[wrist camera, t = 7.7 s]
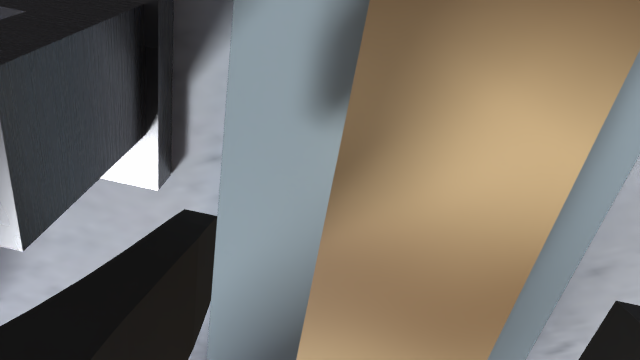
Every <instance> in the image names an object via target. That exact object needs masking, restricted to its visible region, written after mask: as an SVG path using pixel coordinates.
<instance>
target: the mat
mask: <svg viewBox="0 0 640 360" xmlns="http://www.w3.org/2000/svg"><path fill="white" fill-rule="evenodd" d="M369 2H370V0H234V3H233V17H232V30H231V43H230V56H229V70H228V83H227V96H226V110H225V123H224V136H223V149H222V163H221V176H220V189H219V202H218V216H217V229H216V242H215V256H214V269H213V282H212V295H211V309H210V322H209V335H208V348H207V360H296V358H297V353H298V349H299V344H300V339H301V334H302V329H303V324H304V319H305V314H306V309H307V305H308V300H309V295H310V290H311V285H312V280H313V275H314V270H315V265H316V261H317V256H318V251H319V246H320V241H321V236H322V231H323V226H324V221H325V217H326V212H327V207H328V202H329V197H330V192H331V187H332V182H333V177H334V173H335V168H336V163H337V158H338V153H339V148H340V143H341V138H342V134H343V129H344V124H345V119H346V114H347V109H348V104H349V99H350V94H351V90H352V85H353V80H354V75H355V70H356V65H357V60H358V55H359V50H360V46H361V41H362V36H363V31H364V26H365V21H366V16H367V11H368V6H369ZM639 155H640V51H639V53H638V55H637V57H636V59H635V61H634V63H633V65H632V67H631V69H630V71H629V73H628V75H627V77H626V79H625V81H624V83H623V85H622V87H621V89H620V91H619V93H618V95H617V97H616V99H615V101H614V103H613V105H612V107H611V110H610V112H609V114H608V116H607V118H606V120H605V122H604V124H603V126H602V128H601V130H600V132H599V134H598V136H597V138H596V140H595V142H594V144H593V146H592V148H591V150H590V152H589V154H588V156H587V158H586V160H585V162H584V164H583V166H582V168H581V170H580V172H579V175H578V177H577V179H576V181H575V183H574V185H573V187H572V189H571V191H570V193H569V195H568V197H567V199H566V201H565V203H564V205H563V207H562V209H561V211H560V213H559V215H558V217H557V219H556V221H555V223H554V225H553V227H552V229H551V231H550V233H549V235H548V237H547V239H546V242H545V244H544V246H543V248H542V250H541V252H540V254H539V256H538V258H537V260H536V262H535V264H534V266H533V268H532V270H531V272H530V274H529V276H528V278H527V280H526V282H525V284H524V286H523V288H522V290H521V292H520V294H519V296H518V298H517V300H516V302H515V304H514V307H513V309H512V311H511V313H510V315H509V317H508V319H507V321H506V323H505V325H504V327H503V329H502V331H501V333H500V335H499V337H498V339H497V341H496V343H495V345H494V347H493V349H492V351H491V353H490V355H489V357H488V359H487V360H526V358H527V356H528V354H529V353H530V351H531V349H532V347H533V345H534V344H535V342H536V340H537V338H538V336H539V335H540V333H541V331H542V329H543V327H544V326H545V324H546V322H547V320H548V319H549V317H550V315H551V313H552V311H553V310H554V308H555V306H556V304H557V302H558V301H559V299H560V297H561V295H562V293H563V292H564V290H565V288H566V286H567V284H568V283H569V281H570V279H571V277H572V275H573V274H574V272H575V270H576V268H577V266H578V265H579V263H580V261H581V259H582V257H583V256H584V254H585V252H586V250H587V248H588V247H589V245H590V243H591V241H592V239H593V238H594V236H595V234H596V232H597V230H598V229H599V227H600V225H601V223H602V221H603V220H604V218H605V216H606V214H607V212H608V211H609V209H610V207H611V205H612V203H613V202H614V200H615V198H616V196H617V194H618V193H619V191H620V189H621V187H622V185H623V184H624V182H625V180H626V178H627V176H628V175H629V173H630V171H631V169H632V168H633V166H634V164H635V162H636V160H637V159H638V157H639Z"/></svg>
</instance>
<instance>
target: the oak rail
mask: <svg viewBox="0 0 640 360" xmlns="http://www.w3.org/2000/svg"><path fill="white" fill-rule="evenodd" d="M639 51H640V0H370V2H369V6H368V11H367V16H366V21H365V26H364V31H363V36H362V41H361V46H360V50H359V55H358V60H357V65H356V70H355V75H354V80H353V85H352V90H351V94H350V99H349V104H348V109H347V114H346V119H345V124H344V129H343V134H342V138H341V143H340V148H339V153H338V158H337V163H336V168H335V173H334V177H333V182H332V187H331V192H330V197H329V202H328V207H327V212H326V217H325V221H324V226H323V231H322V236H321V241H320V246H319V251H318V256H317V261H316V265H315V270H314V275H313V280H312V285H311V290H310V295H309V300H308V305H307V309H306V314H305V319H304V324H303V329H302V334H301V339H300V344H299V349H298V353H297V358H296V360H487V359H488V357H489V355H490V353H491V351H492V349H493V347H494V345H495V343H496V341H497V339H498V337H499V335H500V333H501V331H502V329H503V327H504V325H505V323H506V321H507V319H508V317H509V315H510V313H511V311H512V309H513V307H514V304H515V302H516V300H517V298H518V296H519V294H520V292H521V290H522V288H523V286H524V284H525V282H526V280H527V278H528V276H529V274H530V272H531V270H532V268H533V266H534V264H535V262H536V260H537V258H538V256H539V254H540V252H541V250H542V248H543V246H544V244H545V242H546V239H547V237H548V235H549V233H550V231H551V229H552V227H553V225H554V223H555V221H556V219H557V217H558V215H559V213H560V211H561V209H562V207H563V205H564V203H565V201H566V199H567V197H568V195H569V193H570V191H571V189H572V187H573V185H574V183H575V181H576V179H577V177H578V175H579V172H580V170H581V168H582V166H583V164H584V162H585V160H586V158H587V156H588V154H589V152H590V150H591V148H592V146H593V144H594V142H595V140H596V138H597V136H598V134H599V132H600V130H601V128H602V126H603V124H604V122H605V120H606V118H607V116H608V114H609V112H610V110H611V107H612V105H613V103H614V101H615V99H616V97H617V95H618V93H619V91H620V89H621V87H622V85H623V83H624V81H625V79H626V77H627V75H628V73H629V71H630V69H631V67H632V65H633V63H634V61H635V59H636V57H637V55H638V53H639Z"/></svg>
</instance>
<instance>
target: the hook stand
mask: <svg viewBox="0 0 640 360" xmlns="http://www.w3.org/2000/svg"><path fill="white" fill-rule="evenodd" d="M172 50H173V0H0V247H5V248H9V249H14V250H18V251H24V250H25V249H26V248H27V247H28V246H29V245H30V244H31V243H32V242H33V241H35V240H36V239H37V238H38V237H39V236H40V235H41V234H42V233H43V232H44V231H45V230H46V229H47V228H48V227H49V226H50V225H51V224H52V223H53V222H54V221H56V220H57V219H58V218H59V217H60V216H61V215H62V214H63V213H64V212H65V211H66V210H67V209H68V208H69V207H70V206H71V205H72V204H73V203H74V202H75V201H77V200H78V199H79V198H80V197H81V196H82V195H83V194H84V193H85V192H86V191H87V190H88V189H89V188H90V187H91V186H92V185H93V184H94V183H95V182H97V181H98V180H99V179H100V178H102V179H106V180H111V181H116V182H120V183H125V184H130V185H134V186H139V187H143V188H148V189H153V190H157V191H158V190H159V189H160V188H161V186H162V185H163V184H164V183H165V181H166V180H167V179H168V178H169V176H170V174H171V112H172Z"/></svg>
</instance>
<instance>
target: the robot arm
mask: <svg viewBox="0 0 640 360" xmlns="http://www.w3.org/2000/svg"><path fill="white" fill-rule="evenodd" d="M216 229H217V216H214V215H209V214H204V213H200V212H195V211H190V210H185V209H184V210H183V211H181V212H180V213H178V214H177V215H175V216H174V217H172V218H171V219H169V220H168V221H166V222H165V223H164V224H162V225H161V226H159V227H158V228H156V229H155V230H154V231H152V232H151V233H149V234H148V235H147V236H145V237H144V238H142V239H141V240H139V241H138V242H137V243H135V244H134V245H132V246H131V247H129V248H128V249H126V250H125V251H124V252H122V253H120V254H119V255H117V256H116V257H114V258H113V259H111V260H110V261H108V262H107V263H105V264H104V265H102V266H101V267H99V268H98V269H96V270H95V271H93V272H92V273H90V274H89V275H87V276H86V277H84V278H82V279H81V280H79V281H78V282H76V283H74V284H73V285H71V286H69V287H68V288H66V289H64V290H63V291H61V292H59V293H58V294H56V295H54V296H53V297H51V298H49V299H48V300H46V301H44V302H43V303H41V304H39V305H38V306H36V307H34V308H32V309H31V310H29V311H27V312H25V313H24V314H22V315H20V316H18V317H16V318H15V319H13V320H11V321H9V322H7V323H5V324H4V325H2V326H0V360H188V358H189V356H190V354H191V352H192V350H193V348H194V345H195V343H196V340H197V337H198V335H199V332H200V329H201V327H202V324H203V321H204V318H205V315H206V313H207V310H208V307H209V304H210V302H211V295H212V281H213V268H214V255H215V242H216ZM579 360H640V306H638V305H634V304H629V303H624V302H619V301H615V303H614V305H613V306H612V308H611V309H610V311H609V312H608V314H607V316H606V317H605V319H604V320H603V322H602V324H601V325H600V327H599V328H598V330H597V331H596V333H595V335H594V336H593V338H592V339H591V341H590V342H589V344H588V346H587V347H586V349H585V350H584V352H583V354H582V355H581V357H580V358H579Z"/></svg>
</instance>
